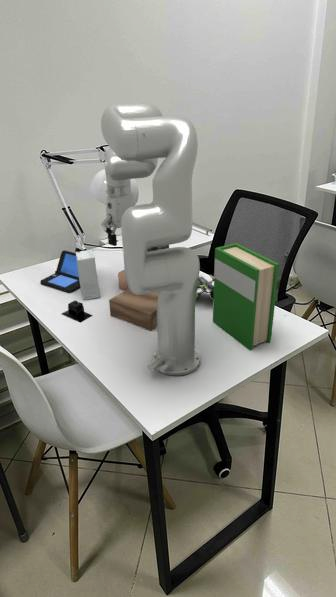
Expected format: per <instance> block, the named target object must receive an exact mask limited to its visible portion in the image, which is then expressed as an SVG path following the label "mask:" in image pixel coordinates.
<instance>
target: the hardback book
mask: <svg viewBox="0 0 336 597" xmlns="http://www.w3.org/2000/svg"><path fill="white" fill-rule="evenodd" d="M279 269H280V263H278V262H277V261H274V260H272V259H270V258H268V257H266V256H264V255H262V254H260V253H258V252H256V251H254V250H253V249H252V250H251V249H249V248H247V247H246V246H244V245H241V244H239V243H237V242H235V243H231V244H227V245H224V246H223V245H222V246H218V247H215V249H214V272H213V277H214V281H213V285H214V298H213V300H212V301H213V303H212V304H213V306H212V307H213V308H212V323H213V324H214V325H216V326H217V327H218V328H220V329H221V330H222V331H224V332H225V333H226V334H228V335H229V336H230V337H232V338H233V340H235V341H236V342H238V343H239V344H240V345H242V346H243V347H244V348H245V349H247V350H248V351H249V352H250V351H253V349H254V348H253V347H254V346H256V345H259V344H262V343H266V344H268V345H269V344H271V343H272V342H271V341H272V335H273V325H274V324H273V323H274V316H275V309H276V308H275V307H276V297H277V291H278V290H277V289H278V281H279V280H278V278H279Z"/></svg>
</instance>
